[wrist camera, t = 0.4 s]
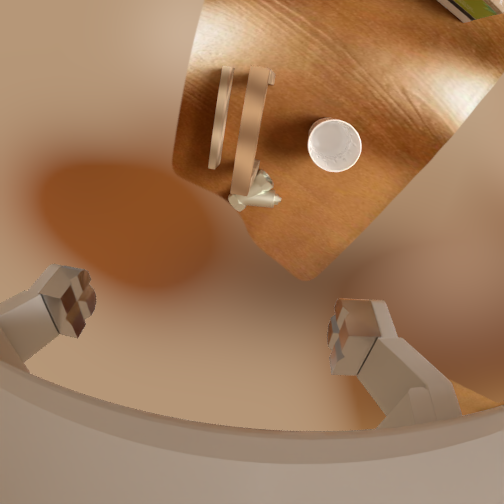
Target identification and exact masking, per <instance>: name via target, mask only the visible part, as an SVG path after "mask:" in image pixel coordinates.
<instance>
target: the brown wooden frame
mask: <svg viewBox="0 0 504 504" xmlns="http://www.w3.org/2000/svg"><path fill="white" fill-rule="evenodd" d="M233 74H234V68H232V67H229V66H222V72H221V78H220V85H219V91H218V98H217V104H216V111H215V118H214V126H213V133H212V140H211V148H210V156H209V164H208V168H209V169H216V168H217V166H218V165H219V164H220V160H221V153H222V146H223V139H224V132H225V125H226V118H227V112H228V105H229V99H230V92H231V86H232V80H233ZM275 75H276V74H275V73H274V72H273V71H272V70H271V69H270V68H266V67H259V66H252V65H251V66H250V71H249V77H248V83H247V89H246V95H245V101H244V106H243V113H242V119H241V125H240V131H239V137H238V144H237V150H236V157H235V163H234V170H233V177H232V184H231V190H230V193H231V194H236V195H241V196H247V195H248V193H249V191H250V188H251V186H252V184H253V181H254V179H255V177H256V174H257V172H258V168H259V163H260V160H256V159H255V154H256V148H257V142H258V137H259V131H260V125H261V120H262V114H263V108H264V103H265V97H266V92H267V86H268V84H271V85H274V81H275Z"/></svg>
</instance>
